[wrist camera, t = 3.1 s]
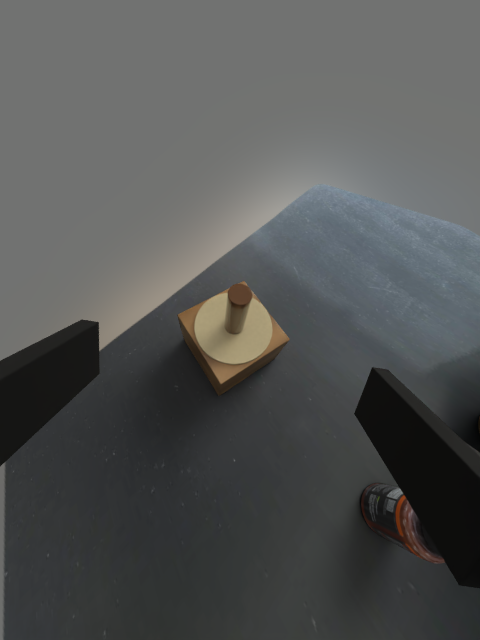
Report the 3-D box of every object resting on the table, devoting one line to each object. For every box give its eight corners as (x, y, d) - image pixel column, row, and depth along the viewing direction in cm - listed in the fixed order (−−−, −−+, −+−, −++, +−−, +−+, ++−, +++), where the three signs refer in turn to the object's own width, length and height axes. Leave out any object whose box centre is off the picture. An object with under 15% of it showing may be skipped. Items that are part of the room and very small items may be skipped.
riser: (183, 339, 41) (177, 314, 33) (238, 309, 45) (244, 280, 37) (218, 396, 38) (220, 384, 30) (274, 358, 41) (290, 339, 33)
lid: (180, 315, 33) (170, 278, 26) (243, 282, 37) (251, 241, 29) (221, 381, 30) (225, 361, 22) (286, 338, 33) (309, 308, 26)
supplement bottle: (406, 535, 33) (494, 578, 22) (363, 536, 32) (433, 580, 22) (395, 481, 35) (469, 499, 25) (355, 481, 35) (414, 498, 25)
